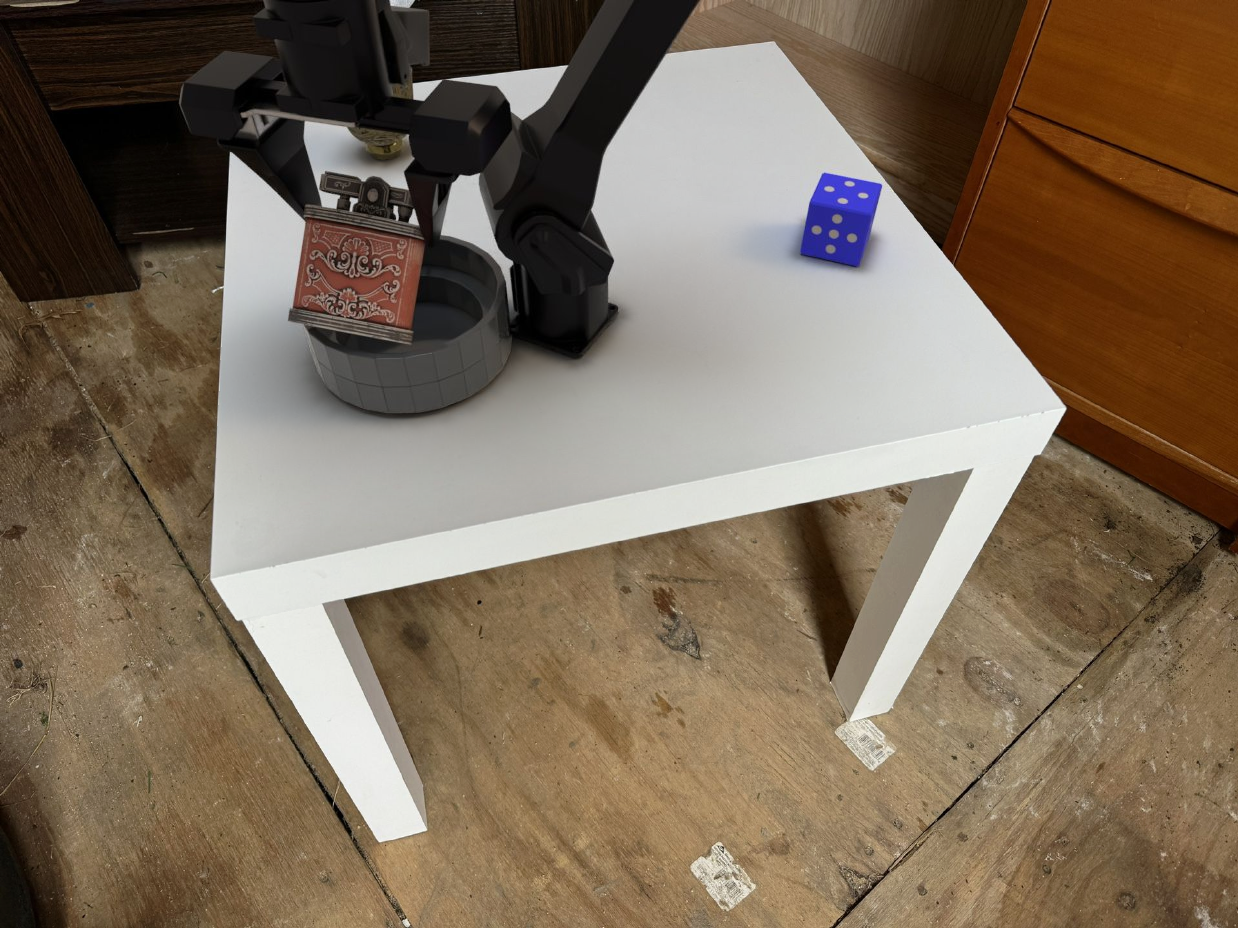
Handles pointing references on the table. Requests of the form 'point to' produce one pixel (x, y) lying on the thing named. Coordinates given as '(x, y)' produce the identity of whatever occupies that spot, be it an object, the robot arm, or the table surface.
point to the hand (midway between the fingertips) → (375, 235)
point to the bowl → (427, 339)
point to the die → (840, 218)
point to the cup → (382, 141)
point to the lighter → (359, 261)
